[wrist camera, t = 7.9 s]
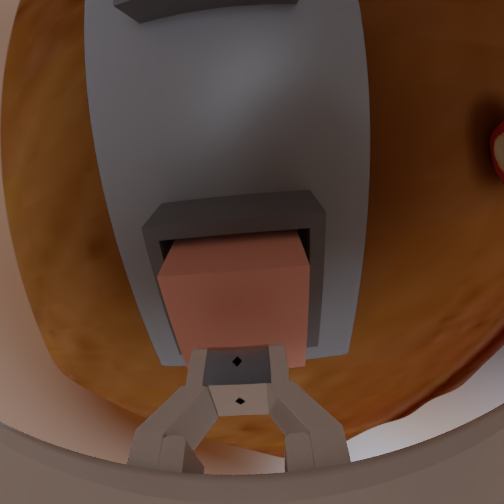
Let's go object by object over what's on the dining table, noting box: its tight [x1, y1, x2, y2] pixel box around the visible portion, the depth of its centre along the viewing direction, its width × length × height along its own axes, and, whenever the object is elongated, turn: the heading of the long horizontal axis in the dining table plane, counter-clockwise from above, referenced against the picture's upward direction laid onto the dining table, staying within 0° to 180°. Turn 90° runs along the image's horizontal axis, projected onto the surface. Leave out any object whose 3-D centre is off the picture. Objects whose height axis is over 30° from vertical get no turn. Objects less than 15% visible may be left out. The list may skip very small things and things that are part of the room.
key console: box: [84, 0, 370, 366], centre depth 11 cm, size 32×13×6 cm, turn 5°
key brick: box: [157, 229, 310, 369], centre depth 12 cm, size 5×5×3 cm
